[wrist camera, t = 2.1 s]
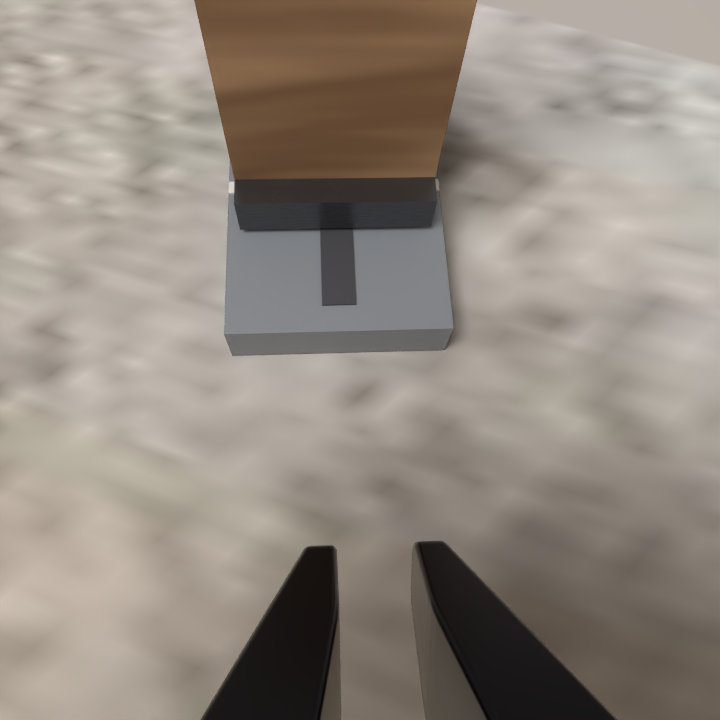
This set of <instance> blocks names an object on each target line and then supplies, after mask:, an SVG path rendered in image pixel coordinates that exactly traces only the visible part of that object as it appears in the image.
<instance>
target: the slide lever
mask: <svg viewBox="0 0 720 720" xmlns="http://www.w3.org/2000/svg"><path fill="white" fill-rule="evenodd" d="M194 1H195V5H196V10H197V14H198V19H199V23H200V28H201V32H202V36H203V41H204V45H205V50H206V54H207V59H208V63H209V68H210V72H211V77H212V81H213V86H214V90H215V94H216V99H217V103H218V108H219V112H220V117H221V121H222V126H223V130H224V135H225V139H226V144H227V148H228V153H229V157H230V161H231V166H232V170H233V175H234V179H235V182H234V207H235V211H236V215H237V219H238V223H239V228H240V230H257V229H317V228H378V227H431V225H432V221H433V217H434V213H435V209H436V205H437V201H438V200H437V191H436V181H435V175H436V171H437V167H438V163H439V158H440V154H441V150H442V146H443V142H444V137H445V133H446V129H447V125H448V121H449V116H450V112H451V108H452V104H453V99H454V95H455V91H456V87H457V83H458V78H459V74H460V70H461V66H462V62H463V57H464V53H465V49H466V45H467V40H468V36H469V32H470V28H471V24H472V19H473V15H474V11H475V7H476V2H477V0H194Z"/></svg>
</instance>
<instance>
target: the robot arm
mask: <svg viewBox="0 0 720 720" xmlns="http://www.w3.org/2000/svg"><path fill="white" fill-rule="evenodd" d="M411 603H412V612H413V621H414V629H415V638H416V646H417V654H418V663H419V671H420V680H421V688H422V696H423V703H424V710H425V717H426V720H617V719H616V718H615V717H614V716H613V715H612V713H611V712H610V711H609V710H608V709H607V708H606V707H605V706H604V705H603V704H602V703H601V702H600V701H599V700H598V699H597V698H596V697H595V696H594V695H593V694H592V693H591V692H590V691H589V690H588V689H587V688H586V687H585V686H584V685H583V684H582V683H581V682H580V681H579V680H578V678H577V677H576V676H575V675H574V674H573V673H572V672H571V671H570V670H569V669H568V668H567V667H566V666H565V665H564V664H563V663H562V662H561V661H560V660H559V659H558V658H557V657H556V656H555V655H554V654H553V653H552V652H551V651H550V650H549V649H548V648H547V647H546V646H545V645H544V643H543V642H542V641H541V640H540V639H539V638H538V637H537V636H536V635H535V634H534V633H533V632H532V631H531V630H530V629H529V628H528V627H527V626H526V625H525V624H524V623H523V622H522V621H521V620H520V619H519V618H518V617H517V616H516V615H515V614H514V613H513V612H512V611H511V610H510V608H509V607H508V606H507V605H506V604H505V603H504V602H503V601H502V600H501V599H500V598H499V597H498V596H497V595H496V594H495V593H494V592H493V591H492V590H491V589H490V588H489V587H488V586H487V585H486V584H485V583H484V582H483V581H482V580H481V579H480V578H479V577H478V576H477V575H476V573H475V572H474V571H473V570H472V569H471V568H470V567H469V566H468V565H467V564H466V563H465V562H464V561H463V560H462V559H461V558H460V557H459V556H458V555H457V554H456V553H455V552H454V551H453V550H452V549H451V548H450V547H449V546H448V545H447V544H446V543H445V542H443V541H420V542H416V543H415V544H414V546H413V552H412V576H411ZM201 720H341V677H340V626H339V591H338V569H337V550H336V548H335V547H334V546H333V545H323V546H308V547H306V548H305V549H304V550H303V552H302V553H301V555H300V557H299V558H298V560H297V562H296V563H295V565H294V566H293V568H292V570H291V571H290V573H289V575H288V576H287V578H286V580H285V581H284V583H283V585H282V586H281V588H280V590H279V591H278V593H277V594H276V596H275V598H274V599H273V601H272V603H271V604H270V606H269V608H268V609H267V611H266V613H265V614H264V616H263V618H262V619H261V621H260V622H259V624H258V626H257V627H256V629H255V631H254V632H253V634H252V636H251V637H250V639H249V641H248V642H247V644H246V646H245V647H244V649H243V650H242V652H241V654H240V655H239V657H238V659H237V660H236V662H235V664H234V665H233V667H232V669H231V670H230V672H229V674H228V675H227V677H226V678H225V680H224V682H223V683H222V685H221V687H220V688H219V690H218V692H217V693H216V695H215V697H214V698H213V700H212V702H211V703H210V705H209V706H208V708H207V710H206V711H205V713H204V715H203V716H202V718H201Z"/></svg>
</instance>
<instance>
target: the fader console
mask: <svg viewBox="0 0 720 720" xmlns="http://www.w3.org/2000/svg"><path fill="white" fill-rule="evenodd" d="M435 181H436V191H437V200H438V201H437V205H436V209H435V213H434V217H433V221H432V225H431V227H378V228H317V229H257V230H240V228H239V223H238V219H237V215H236V211H235V207H234V182H235V179H234V175H233V170H232V166H231V161H230V173H229V190H228V193H229V203H228V234H227V264H226V295H225V325H224V335H225V338H226V340H227V343H228V345H229V348H230V351H231V353H232V356H235V355H272V354H309V353H346V352H383V351H421V350H445V347H446V345H447V343H448V340H449V338H450V336H451V333H452V331H453V329H454V327H453V318H452V309H451V299H450V290H449V280H448V271H447V262H446V252H445V243H444V233H443V224H442V215H441V205H440V196H439V181H438V177H437V171H436V175H435Z"/></svg>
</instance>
